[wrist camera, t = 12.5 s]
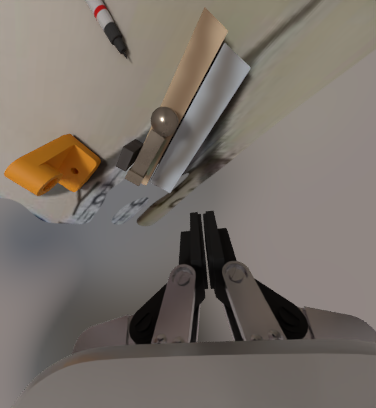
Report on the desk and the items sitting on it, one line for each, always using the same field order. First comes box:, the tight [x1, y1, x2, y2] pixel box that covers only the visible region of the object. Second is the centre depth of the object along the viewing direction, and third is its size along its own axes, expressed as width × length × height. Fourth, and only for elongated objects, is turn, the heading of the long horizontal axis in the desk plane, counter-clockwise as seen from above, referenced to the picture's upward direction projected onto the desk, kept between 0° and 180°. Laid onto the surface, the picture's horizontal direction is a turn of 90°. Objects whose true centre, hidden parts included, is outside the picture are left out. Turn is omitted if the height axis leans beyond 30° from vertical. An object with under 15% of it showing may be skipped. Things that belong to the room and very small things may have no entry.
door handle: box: [125, 107, 178, 186], centre depth 27 cm, size 14×4×4 cm, turn 145°
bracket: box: [4, 134, 101, 196], centre depth 29 cm, size 11×7×12 cm, turn 132°
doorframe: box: [116, 8, 251, 193], centre depth 27 cm, size 12×28×7 cm, turn 148°
